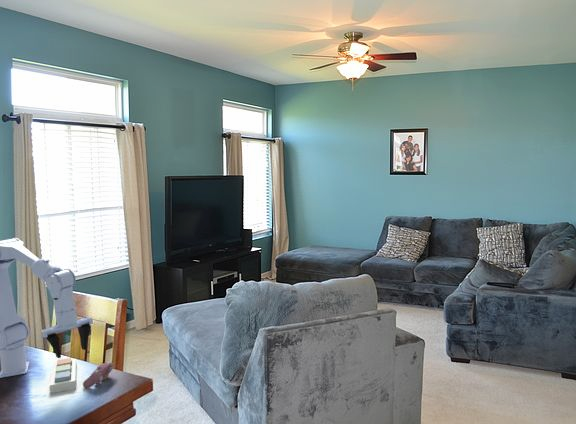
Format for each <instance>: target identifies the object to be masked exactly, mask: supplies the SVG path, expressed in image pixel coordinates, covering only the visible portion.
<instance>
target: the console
mask: <svg viewBox="0 0 576 424" xmlns="http://www.w3.org/2000/svg"><path fill="white" fill-rule="evenodd" d="M77 367H78V366H77V358H73V359H72V358H71V373H70V380H68V381H62V382H57V383H56V382H55V376H56V368H57V361H55V362H52V368H51V374H50V382H49V391H50V392H49V393H50V394H54V393H59V392H65V391H70V390H76V389H77Z"/></svg>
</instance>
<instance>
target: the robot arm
mask: <svg viewBox="0 0 576 424" xmlns="http://www.w3.org/2000/svg"><path fill="white" fill-rule="evenodd" d="M15 261H18V262H19V263H22V264H23V265H25V266H27V267H28V268H31V273H32V274H33V275H34V276H35V277H37V278H38V279H40V280H41V281H43V282H44V283H45V286H46V288H47V290H48V291H49V294H50V297H51V298H52V300H53V309H54V314H55V320H56V321H55V322H56V325H54V326H51V327H48V328H44V329H41V337H42V338H43V339H44V338H45V339H46V340H47V342H48V343H49V345H50V346H51V348H52V350H53V351H54V354H55V357H56V358H57V359H61V358H62V356H61V354H62V353H61V349H60V337H59V336H58V335H57V334H60V333H65V332H66V331H71V330H74V329H77V330H78V334H79V339H80V346H81V347H80V348H81V350H83V351H85V350H87V347H88V345H87V344H88V339H89V335H90V333H91V330H92V326H91V325H93V324H94V323H93V321H94V320H93V318H92V317H90V316H88V317H83V318H80V319H78V317H77V312H76V304H75V297H74V291H73V286H75V284H76V281H77V279H76V275H75V273H74V272H73V270H71V269H70V268H60V267H59V266H58V265H56V264H54V263H53V262H51V261H50V259H49V258H44V257H43V258H39V257H38V256H36V254H34V253H33V252H31V251H30V250H29V249H27V248H26V245H25V242H24V241H23V240H20V239H19V238H18V237H13V238H7V239H3V240H0V367H1V370H0V379H2V378H8V377H12V376H19V375H23V374H25V375H26V374H27V373H28V370H29V366H30V361H27V357H26V346H25V344H26V343H27V339H28V338H29V337H30V328H29V326H28V324H27V322H26V318H25V317H24V316H21V315H19V314H18V313H17V308H16V303H15V299H14V293H13V289H12V283H11V279H10V275H9V274H10V273H9V270H8V269H9V267H10V265H11V264H12V263H13V262H15Z"/></svg>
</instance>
